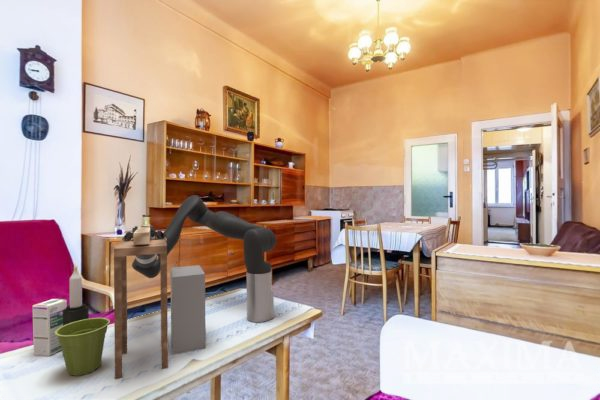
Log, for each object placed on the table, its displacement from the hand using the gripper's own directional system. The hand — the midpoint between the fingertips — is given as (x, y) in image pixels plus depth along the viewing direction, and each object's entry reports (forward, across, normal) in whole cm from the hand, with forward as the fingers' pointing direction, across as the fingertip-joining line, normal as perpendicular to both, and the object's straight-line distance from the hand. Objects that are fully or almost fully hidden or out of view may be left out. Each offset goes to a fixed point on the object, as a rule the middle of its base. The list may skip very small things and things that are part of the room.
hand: (143, 228), depth 95 cm
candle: (-21, -18, +29) cm, 40 cm away
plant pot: (-10, -14, +35) cm, 39 cm away
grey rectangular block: (-14, +12, +32) cm, 37 cm away
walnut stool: (-9, 0, +36) cm, 37 cm away
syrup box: (-24, -25, +27) cm, 44 cm away
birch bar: (+2, 0, +5) cm, 5 cm away
